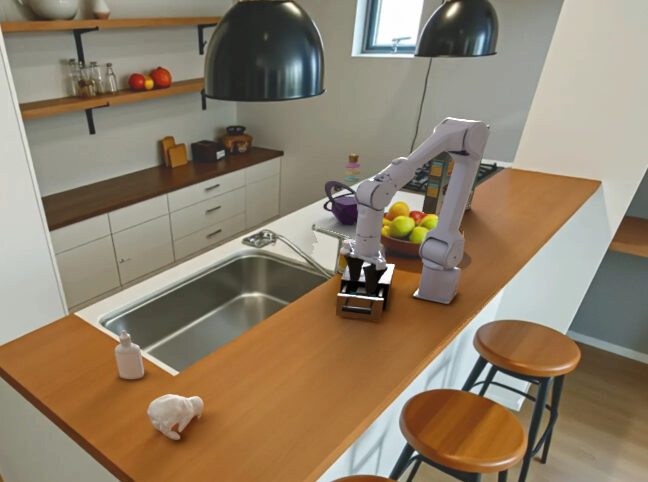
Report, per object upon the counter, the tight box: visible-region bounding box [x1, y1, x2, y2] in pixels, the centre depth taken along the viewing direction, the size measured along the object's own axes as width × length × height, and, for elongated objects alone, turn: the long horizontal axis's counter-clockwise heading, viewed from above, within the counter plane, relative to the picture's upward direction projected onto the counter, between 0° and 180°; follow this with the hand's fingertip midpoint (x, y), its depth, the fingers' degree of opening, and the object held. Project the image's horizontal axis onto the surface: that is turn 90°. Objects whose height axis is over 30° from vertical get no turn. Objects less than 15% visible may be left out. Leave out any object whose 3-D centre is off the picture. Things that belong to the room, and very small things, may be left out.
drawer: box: [335, 282, 385, 322], centre depth 124 cm, size 17×11×6 cm, turn 157°
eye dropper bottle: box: [114, 329, 145, 380], centre depth 107 cm, size 4×6×12 cm
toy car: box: [349, 287, 376, 297], centre depth 125 cm, size 6×4×5 cm, turn 67°
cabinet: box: [339, 262, 396, 311], centre depth 133 cm, size 13×12×8 cm
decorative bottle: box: [322, 153, 361, 226], centre depth 181 cm, size 22×21×25 cm
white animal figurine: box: [146, 393, 205, 441], centre depth 92 cm, size 6×8×12 cm
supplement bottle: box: [337, 238, 355, 275], centre depth 147 cm, size 5×5×10 cm
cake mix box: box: [421, 125, 491, 217], centre depth 182 cm, size 22×6×30 cm, turn 121°
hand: (362, 286), depth 121 cm, fingers open, 7 cm apart
